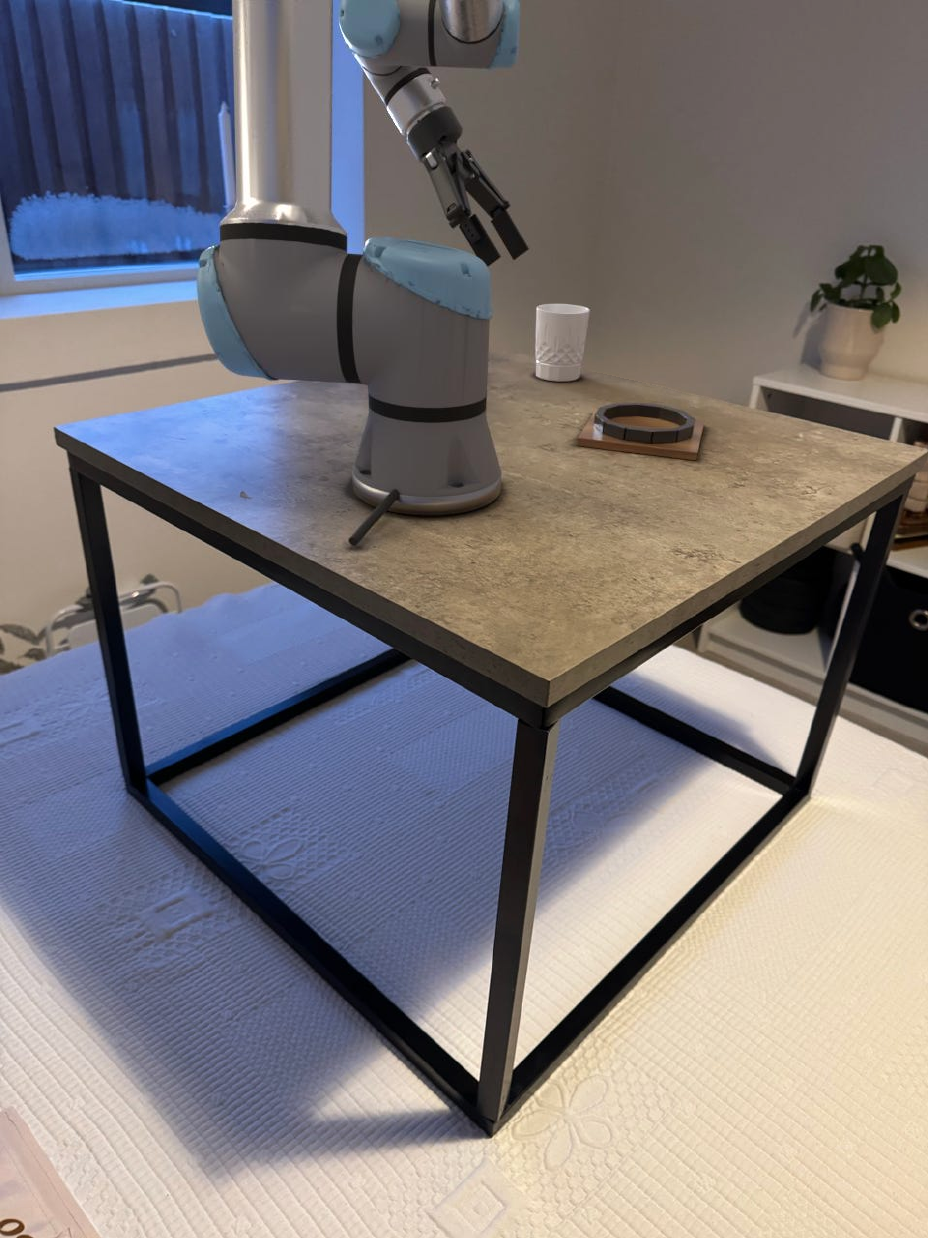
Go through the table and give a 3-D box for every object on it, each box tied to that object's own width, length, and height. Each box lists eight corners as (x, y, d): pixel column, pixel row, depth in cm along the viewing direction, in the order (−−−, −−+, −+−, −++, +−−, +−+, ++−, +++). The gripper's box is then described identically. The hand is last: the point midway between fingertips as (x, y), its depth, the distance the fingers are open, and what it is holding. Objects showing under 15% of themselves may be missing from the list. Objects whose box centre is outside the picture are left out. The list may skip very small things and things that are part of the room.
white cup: (559, 368, 136) (565, 301, 131) (593, 379, 131) (601, 310, 126) (521, 373, 132) (525, 305, 127) (554, 385, 127) (560, 314, 122)
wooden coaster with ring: (695, 460, 99) (699, 439, 98) (576, 445, 103) (578, 425, 101) (703, 427, 111) (706, 407, 110) (596, 414, 114) (598, 395, 113)
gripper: (410, 96, 107) (501, 249, 112) (477, 107, 128) (551, 236, 132) (368, 136, 111) (457, 283, 115) (439, 141, 132) (512, 265, 136)
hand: (507, 258), depth 124 cm, fingers open, 13 cm apart
